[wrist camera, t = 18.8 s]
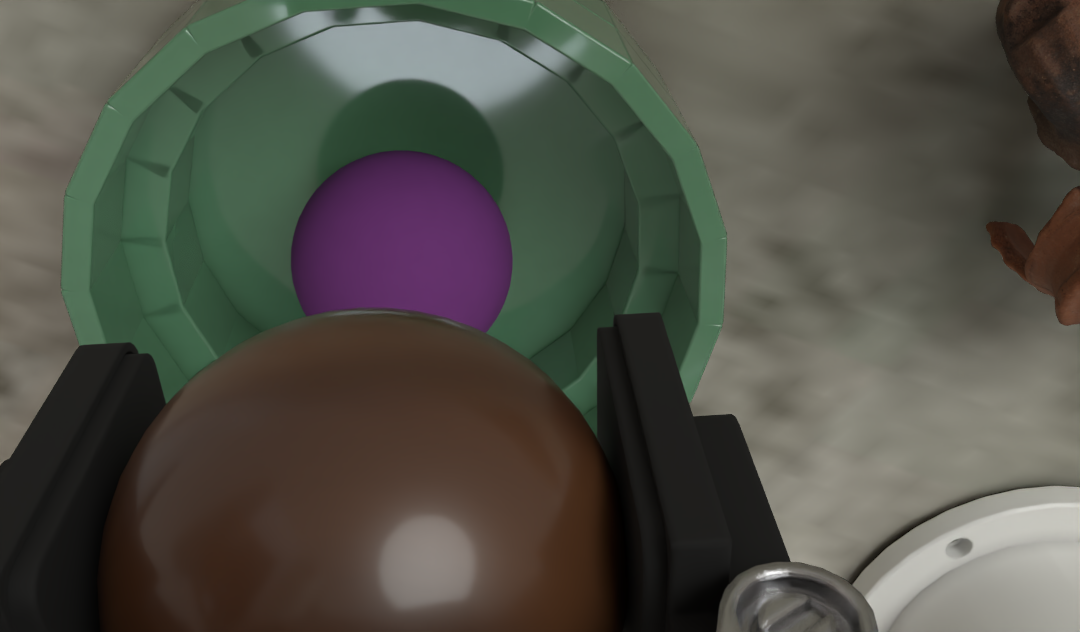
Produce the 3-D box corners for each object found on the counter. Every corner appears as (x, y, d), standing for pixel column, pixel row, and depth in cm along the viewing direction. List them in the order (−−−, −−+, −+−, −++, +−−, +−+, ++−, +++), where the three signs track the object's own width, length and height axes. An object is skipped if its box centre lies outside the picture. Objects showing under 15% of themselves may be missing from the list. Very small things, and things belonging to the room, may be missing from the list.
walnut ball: (600, 208, 12) (683, 527, 7) (601, 555, 14) (661, 946, 10) (128, 234, 11) (-93, 579, 7) (218, 580, 14) (100, 989, 10)
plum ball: (505, 111, 25) (503, 204, 21) (519, 293, 28) (519, 409, 24) (294, 123, 25) (247, 218, 21) (328, 303, 28) (294, 421, 24)
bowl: (684, -103, 24) (741, -52, 19) (675, 397, 31) (714, 523, 26) (60, -60, 23) (-40, 3, 19) (201, 438, 31) (156, 573, 26)
